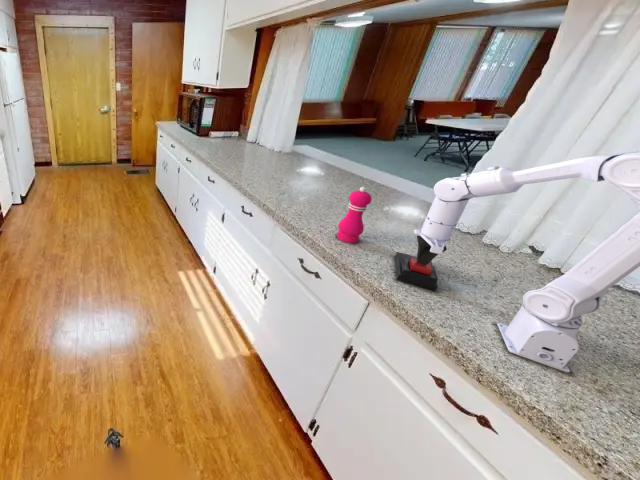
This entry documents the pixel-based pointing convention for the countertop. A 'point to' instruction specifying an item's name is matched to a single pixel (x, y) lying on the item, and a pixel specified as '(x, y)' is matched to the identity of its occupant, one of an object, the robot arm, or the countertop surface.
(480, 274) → the countertop surface
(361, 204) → the pepper mill
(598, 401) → the countertop surface
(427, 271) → the block
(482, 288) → the countertop surface
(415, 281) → the press
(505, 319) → the countertop surface
